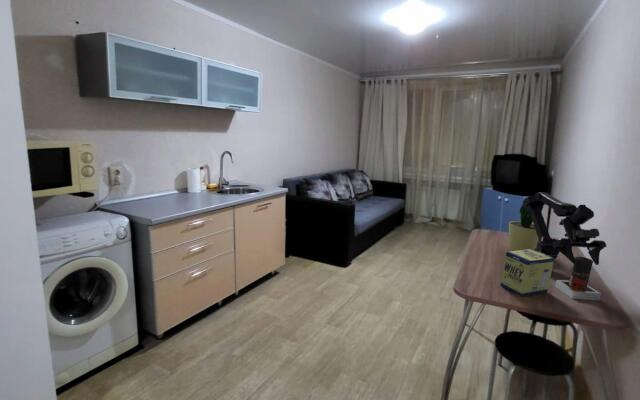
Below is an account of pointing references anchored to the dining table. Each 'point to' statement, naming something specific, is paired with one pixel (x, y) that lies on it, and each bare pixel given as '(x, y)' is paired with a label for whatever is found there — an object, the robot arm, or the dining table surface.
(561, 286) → the collar
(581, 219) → the robot arm
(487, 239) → the dining table surface
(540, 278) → the protein box
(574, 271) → the deodorant
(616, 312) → the dining table surface
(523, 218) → the potted cactus
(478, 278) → the dining table surface
